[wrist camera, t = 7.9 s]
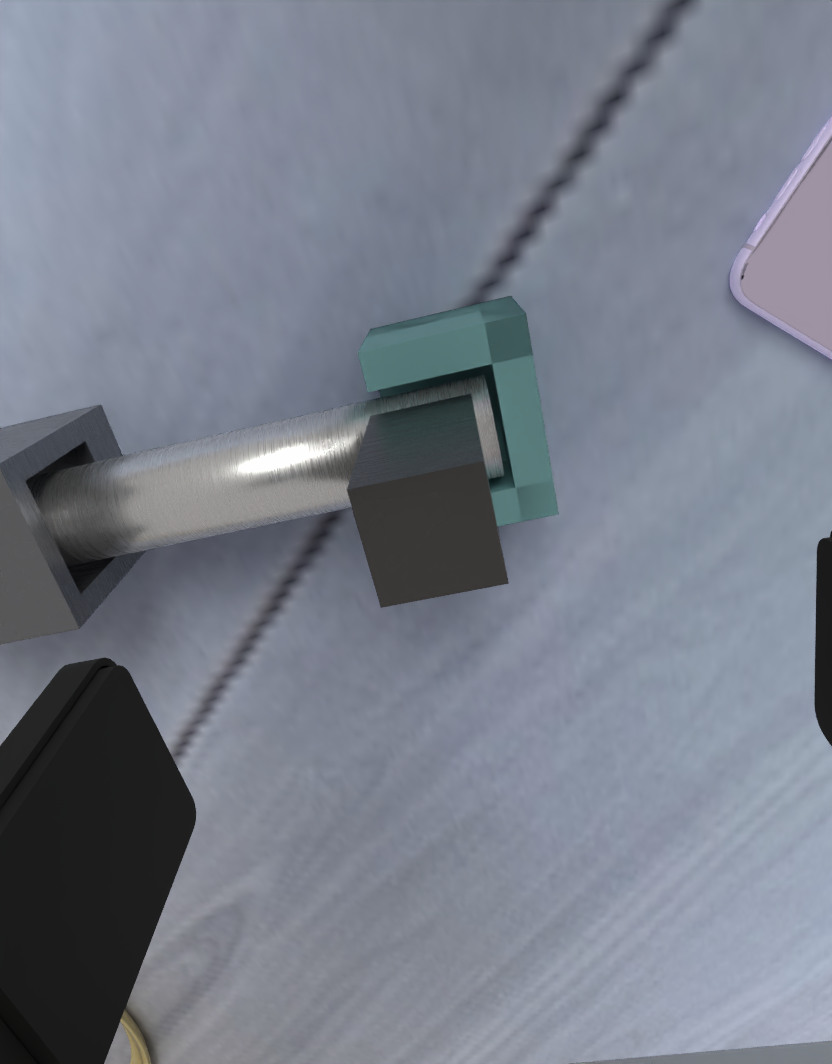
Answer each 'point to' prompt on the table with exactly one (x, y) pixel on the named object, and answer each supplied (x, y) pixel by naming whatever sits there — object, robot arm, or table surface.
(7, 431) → the sleeve
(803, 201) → the mobile phone
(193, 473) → the grey l-shaped bar
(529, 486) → the socket
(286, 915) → the table surface
